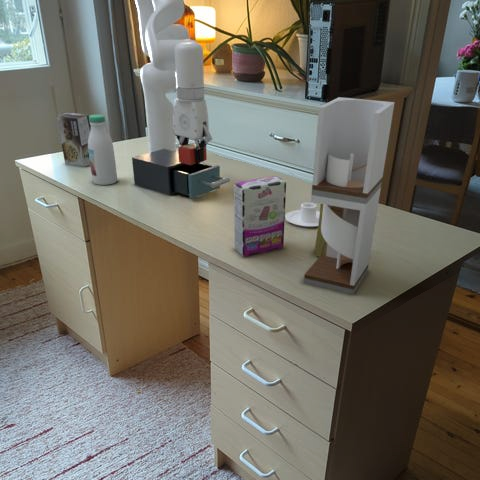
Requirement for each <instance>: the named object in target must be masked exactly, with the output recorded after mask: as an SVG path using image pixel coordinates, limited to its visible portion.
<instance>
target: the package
mask: <svg viewBox="0 0 480 480" xmlns="http://www.w3.org/2000/svg"><path fill="white" fill-rule="evenodd" d="M195 149H197V148H196V144H195V141H193V142H191V143H188V144H187V145H183V146H181V145H179V147H178V148H177V152H178V153H179V162H180V163H184V164H187V165H193V164H196V163H195ZM207 160H208V159H207V146H206V147H205V148H204V161H203V162H205V161H207Z"/></svg>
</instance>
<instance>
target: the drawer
mask: <svg viewBox="0 0 480 480" xmlns="http://www.w3.org/2000/svg"><path fill="white" fill-rule="evenodd" d="M220 172H221V166H220V165H219V164H218V165H217V164H216V165H214V166H213V165H211V164H207V163H203V162H200V163H196V164H193V165H187V164H185V165H181V166H178V167H175V168H172V169H170V179H171V190H172V191H175V192H178V193H177V194H182V195H186V196H188V197H189V199H192V200H193V199H196V198H198V197H201V196H203V195H207V194H209V193H211V192H214V191H216V190H220V189H221V186H222V185H225V184H227V183H230V181H231V179H230V177H229V176H227V177H222V176H221V173H220Z"/></svg>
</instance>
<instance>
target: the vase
mask: <svg viewBox="0 0 480 480" xmlns="http://www.w3.org/2000/svg"><path fill="white" fill-rule="evenodd" d="M319 211H320V216H319V224H318V226H317V232H316V233H317V234H316V239H315V246H314V251H313V253H314V255H315V256H316V257H317V258H319V257H320V256H321V255H322V254H326V252H327V242H326V241H325V239H324V238H323V236H322V233H321V223H322V213H323V204H320V207H319Z"/></svg>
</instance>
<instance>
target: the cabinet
mask: <svg viewBox="0 0 480 480" xmlns="http://www.w3.org/2000/svg"><path fill="white" fill-rule="evenodd" d="M131 162H132V172H133V183H134V186H137V187H140V188H143V189H145V190H146V189H147V190H150V191H153V192H156V193H159V194H163V195H166V196H172V195H176V194H179V193H178V192H175V191H172V190H171V179H170V169H172V168H175V167H178V166H181V165H185V164H184V163H180V162H179V153H178V151H176V152H175V151H171V150H167V149H161V150H158V151H154V152H150V151H149V152H147V153H143V154H140V155H136V156H133V157H131Z"/></svg>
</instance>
